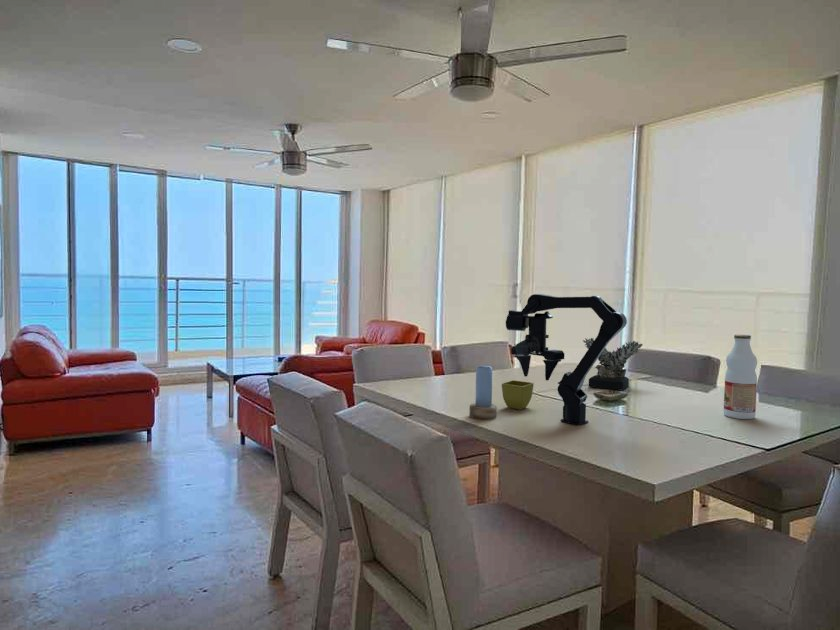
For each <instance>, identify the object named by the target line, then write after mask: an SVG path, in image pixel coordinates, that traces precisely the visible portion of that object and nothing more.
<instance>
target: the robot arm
mask: <svg viewBox="0 0 840 630" xmlns="http://www.w3.org/2000/svg"><path fill="white" fill-rule="evenodd" d="M554 309H592V311H594V313H595V314H596V315H597V316H598V317H599V319H600V320H601V321H602V323H601V325H600V327H599V331H598V334H597V336H596V337H595V339H593V340H594V342H593V343H592V345H591V346H590V348H589V349H587V350H586V352H585V353H584V355H583V356H582V358H581V360H580V361H579V362H578V364H577V365H576V367H575V368H574V370H573V371H570V370H568V371H567V372H565V373H564V374H563V376H562V377H561V380H560V381H558V382H557V384H558V386H557V393H558V395H559V396H560V398H562V399H561V400H562V402H563V406H562V418H561V419H560V422H563V423H565V424H566V423H567V424H570V425H575V426H577V425H578V426H579V425H582V424H587V423H589V420H586V419H587V418H586V417H587V416H586V415H587V412H586V411H587V409H586V408H587V404H586V403H585V402H586V401H587V399H588V395H587V394H586V393H585V392H584V391H583V389H582V387H583V385H584V382H585V379H586V377H587V375H588V374H589V372H590V371H591V369H592V368H593V366H594V365H595V363H596V362H597V361H598V357H599V356H600V355H601V353H602V352H603V350H604V349H605V348H607V346H608V345H609V343H610V342H611V341H612V340H613V339H614V338H615V337H616V336H617V335H618V334H619V333H620V332H621V331H622V330H624V328H625V327H626V326H627V324H628V320H627V317H626V315H625V314H624V313H622V312H620V311H617V310H616V309H614V308H613V307H612V306H611V305H610V304H608V303H607V302H606V301H604V299H603V298H602V296H599V295H591V296H553V295H550V294H543V293H536V294H535V293H534V294H531V295H530V296H529V297H528V299H527V301H526V305H524V308H522V310H521V311H517V310H514V309H513V310H508V314H507V315H506V319H505V327H506V329H507V331H517V332H525V331H526V330H527V329H528V334H525V337H524V339H523V340H522V341H520V342H518V343H516V344H515V345H513V346H512V347H511V348H510V354H511V355H513V357H514V358H515V359H517V360H518V362H519V365H520V367H521V369H522V373H523V376H524V377H528V375H529V370H530V364H531V358H532V356H540V357H543V358H544V359H542V362H543V363H544V367H545V369H544V372H545V374H544V377H545V381H549V380H550V378H551V376H552V374H553V372H554V370H555V368H557V365H558V364H559V362H562V360H565V352H564V350H561V349H559V350H558V349H549V347H547V339H549V337H550V335H549V334H547V319H548V320H551V319H553V318H554V316H553V315H552V314H551V313H550V312H549V310H554ZM544 311H545V312H544ZM539 312H540V313H539ZM541 312H544V313H541ZM531 314H532V315H531ZM533 314H534V315H533Z"/></svg>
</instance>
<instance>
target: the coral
mask: <svg viewBox="0 0 840 630" xmlns="http://www.w3.org/2000/svg"><path fill="white" fill-rule="evenodd" d="M594 340H595V339H594V337H591V338H586V337H585V338H584V339H582V342H583V343H585V344H584V346H585V347H586V348H587V350H588V349H589V348H590V346H591V345H592V343H593V342H594ZM642 347H643V343H639V342H638V341H635V340H633V341H632V340H631V341H628V343H627V342H625V343H623V345H622V346H619V347H617V348H616V350H612V352H611V351H609V350H607V347H605V349H604V350H603V352H602V353H601V355H600V356H599V357H598V359H597V361H599V362H598V364H597V365H596V366H595V367H594V369H596V370H597V372H596V374H595V375H593V376H591V377H589V378H588V387H589V388H599V389H607V390H620V391H623V390H624V389H625V390H626V388H628V387H629V385H630V384H629V383H630V378H628V377H627V376H626V373H627V372H626V371H627V369H626V368H625V365H626V364H627V362H628V359H630V358H631V357H632V356H634V355H635V354H636V353H639V349H640V348H642Z"/></svg>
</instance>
